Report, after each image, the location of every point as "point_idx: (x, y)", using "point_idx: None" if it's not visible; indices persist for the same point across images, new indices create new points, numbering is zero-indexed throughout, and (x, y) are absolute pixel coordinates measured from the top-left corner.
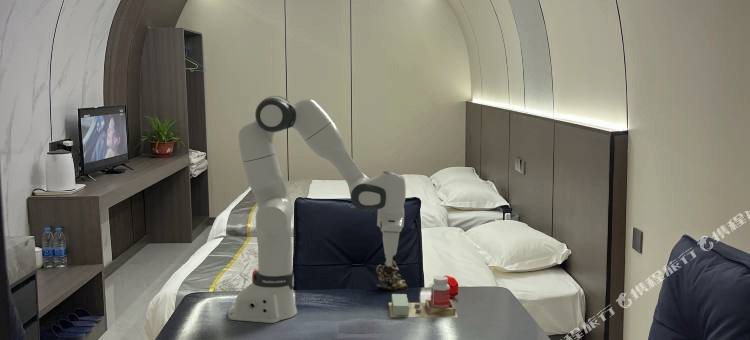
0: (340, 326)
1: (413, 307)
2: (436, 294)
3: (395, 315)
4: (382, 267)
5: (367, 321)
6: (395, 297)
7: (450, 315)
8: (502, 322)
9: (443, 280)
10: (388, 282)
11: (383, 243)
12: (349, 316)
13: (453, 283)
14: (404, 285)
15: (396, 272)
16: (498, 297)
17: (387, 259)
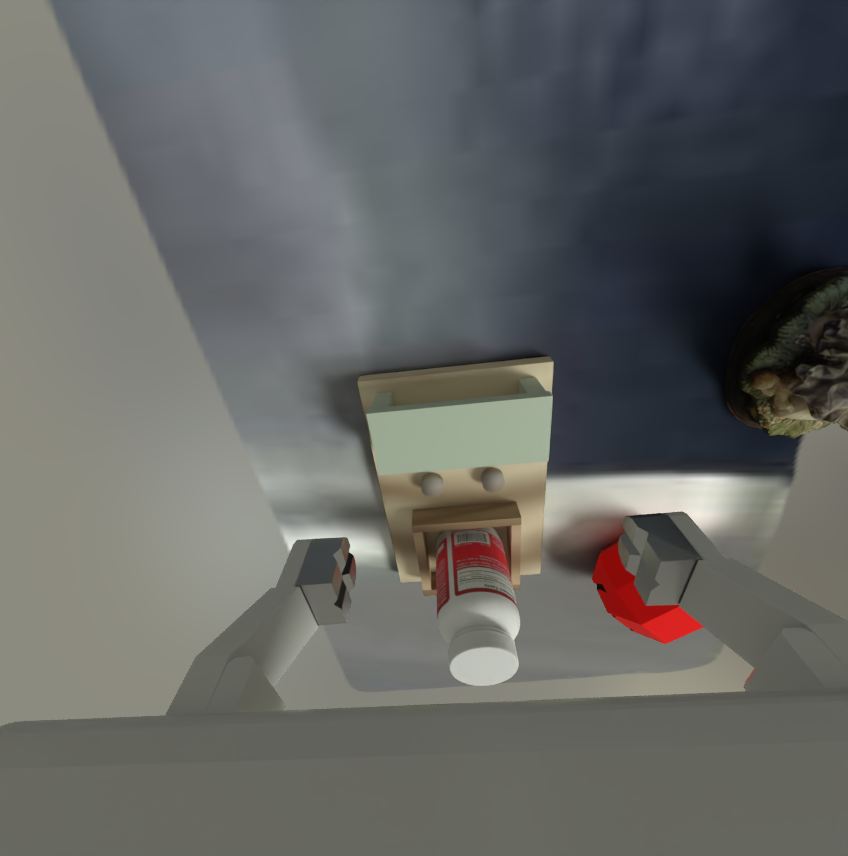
0: (203, 111)
1: None
2: (440, 590)
3: None
4: None
5: (322, 270)
6: (495, 415)
7: (414, 566)
8: (409, 650)
9: (451, 671)
10: (816, 356)
11: (661, 769)
12: (373, 149)
13: (630, 625)
14: (775, 429)
15: None
16: (613, 658)
17: (255, 614)
